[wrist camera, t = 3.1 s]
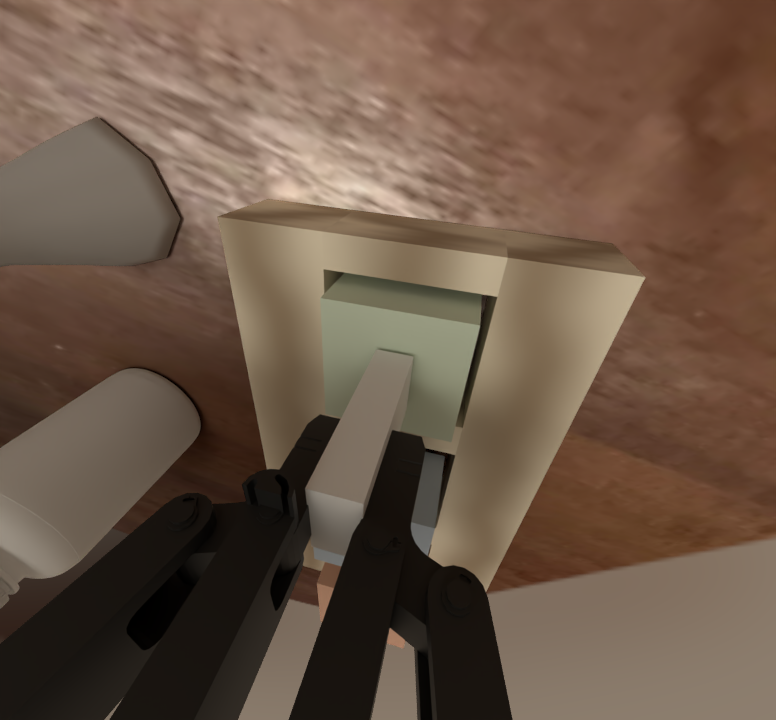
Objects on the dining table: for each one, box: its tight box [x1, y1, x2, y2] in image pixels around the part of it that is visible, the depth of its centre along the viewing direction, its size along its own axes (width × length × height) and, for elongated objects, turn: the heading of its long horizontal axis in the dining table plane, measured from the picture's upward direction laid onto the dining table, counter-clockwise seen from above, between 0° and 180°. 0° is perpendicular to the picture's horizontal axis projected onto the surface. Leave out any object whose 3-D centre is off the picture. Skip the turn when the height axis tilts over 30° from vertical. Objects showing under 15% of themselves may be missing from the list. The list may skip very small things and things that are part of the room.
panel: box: [218, 199, 645, 592], centre depth 23 cm, size 16×28×4 cm, turn 176°
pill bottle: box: [0, 368, 201, 608], centre depth 23 cm, size 8×8×15 cm
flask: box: [0, 117, 180, 267], centre depth 16 cm, size 7×7×10 cm
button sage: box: [320, 273, 482, 442], centre depth 16 cm, size 6×6×4 cm
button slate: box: [313, 452, 445, 566], centre depth 20 cm, size 6×6×4 cm
